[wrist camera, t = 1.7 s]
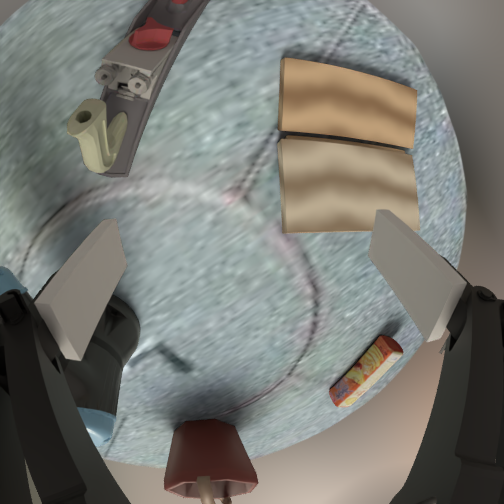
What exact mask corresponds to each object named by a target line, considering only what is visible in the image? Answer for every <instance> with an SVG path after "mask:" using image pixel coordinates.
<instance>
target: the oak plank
mask: <svg viewBox="0 0 504 504" xmlns="http://www.w3.org/2000/svg"><path fill="white" fill-rule="evenodd" d="M416 106H417V90H415V89H413V88H410V87H407V86H404V85H402V84H399V83H396V82H393V81H390V80H386V79H383V78H380V77H376V76H373V75H370V74H366V73H362V72H358V71H354V70H350V69H346V68H342V67H337V66H333V65H328V64H323V63H317V62H312V61H306V60H299V59H293V58H283V59H282V60H281V64H280V90H279V114H278V130H281V131H295V132H306V133H317V134H326V135H335V136H342V137H350V138H357V139H363V140H369V141H375V142H381V143H386V144H392V145H397V146H402V147H406V148H411V149H413V144H414V134H415V122H416Z"/></svg>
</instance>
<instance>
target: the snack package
mask: <svg viewBox="0 0 504 504" xmlns="http://www.w3.org/2000/svg"><path fill="white" fill-rule="evenodd" d="M402 355H403V349H402V348H401V346H400V345H399V344H398V343H397V342H396V341H395V340H394V339H393V338H390V337H388V336H384V335H381V336H379V337H378V339H377V340H376V341H375V343H374V344H373V345H372V346H371V347H370V348H369V349H368V351H367V352H366V353H365V354H364V355H363V356H362V357H361V359H360V360H359V361H358V362H357V363H356V364H355V365H354V366H353V367H352V368H351V370H350V371H349V372H348V373H347V374H346V375H345V376H344V377H343V378H342V379H341V380H340V381H339V382H338V383H337V384H336V385H335V386H333V387H332V388H331V389H330V391H329V394H330V397H331V399H332V401H333V403H334V404H335V405H336V406H337V407H349V406H351V405H352V404H353V403H354V402H355V401H356V400H357V399H358V398H359V397H360V396H361V395H363V394H364V393H365V392H366V391H367V390H368V389H369V388H370V387H371V386H372V385H373V384H374V383H375V382H376V381H377V380H378V379H379V378H380V377H381V376H382V375H383V374H384V373H385V372H386V371H387V370H388V369H389V368H390V367H391V366H392V365H393V364H394V363H395V362H396V361H397V360H398V359H399V358H400V357H401V356H402Z"/></svg>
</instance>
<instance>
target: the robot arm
mask: <svg viewBox="0 0 504 504" xmlns="http://www.w3.org/2000/svg"><path fill="white" fill-rule="evenodd" d="M368 257H369V258H370V259H371V261H372V262H373V263H374V265H375V266H376V267H377V269H378V270H379V272H380V273H381V274H382V276H383V277H384V278H385V280H386V281H387V283H388V284H389V286H390V287H391V288H392V290H393V291H394V293H395V294H396V296H397V297H398V299H399V300H400V302H401V303H402V305H403V306H404V308H405V309H406V311H407V312H408V314H409V315H410V317H411V318H412V320H413V321H414V323H415V324H416V326H417V328H418V329H419V331H420V332H421V334H422V335H423V337H424V339H425V340H426V342H429V341H433V340H437V339H440V338H441V336H442V334H443V333H444V331H445V329H446V327H447V329H448V330H449V331H450V334H449V337H448V338H447V340H446V342H445V343H444V345H443V347H442V349H441V350H440V353H441V354H442V352H443V350H445V354H444V360H443V365H442V371H441V375H440V380H439V385H438V389H437V393H436V397H435V401H434V404H433V408H432V412H431V416H430V418H429V422H428V425H427V428H426V431H425V434H424V437H423V440H422V443H421V446H420V448H419V451H418V454H417V456H416V459H415V461H414V464H413V466H412V469H411V471H410V474H409V476H408V478H407V480H406V482H405V484H404V486H403V487H402V489H401V490H400V491H399V492H398V493H397V494H396V495H395V496H394V498H393V499H392V501H391V502H390V503H389V504H504V300H500V299H497V298H496V296H495V295H494V294H493V292H491V291H490V290H489V289H487V288H485V287H482V286H474V287H473V286H472V285H470V283H469V282H468V281H467V280H466V279H465V278H464V277H463V276H462V275H461V274H460V273H459V272H458V271H456V269H455V268H454V267H453V266H451V264H450V263H449V262H448V261H447V260H446V259H445V258H444V257H443V256H441V255H439V254H438V253H437V252H436V251H435V250H434V249H433V248H432V247H431V246H430V245H429V244H427V243H426V242H425V241H424V240H423V239H422V238H421V237H420V236H419V235H418V234H417V233H415V232H414V231H413V230H412V229H411V228H410V227H409V226H408V225H406V224H405V223H404V222H403V221H402V220H401V219H399V218H398V217H397V216H396V215H395V214H394V213H392V212H391V211H390V210H385V209H377V210H376V216H375V222H374V227H373V233H372V238H371V243H370V248H369V253H368ZM126 267H127V262H126V258H125V254H124V250H123V246H122V242H121V238H120V234H119V229H118V225H117V220H116V219H106V220H103V221H102V222H101V223H100V224H99V225H98V226H97V227H96V228H95V229H94V230H93V231H92V232H91V233H90V235H89V236H88V237H87V238H86V239H85V240H84V241H83V242H82V244H81V245H80V246H79V247H78V248H77V249H76V250H75V252H74V253H73V254H72V255H71V256H70V257H69V259H68V260H67V261H66V262H65V263H64V265H63V266H62V267H61V268H60V269H59V270H58V271H57V272H55V273H54V274H53V275H52V276H51V277H50V278H49V279H48V281H47V282H46V284H44V286H43V287H42V290H40V291H39V292H38V294H37V295H36V296H35V298H34V299H33V298H32V297H31V296H30V295H29V293H28V292H27V291H28V289H27V288H26V287H23V285H22V284H21V283H20V282H19V281H18V279H17V278H16V277H15V276H14V274H13V273H12V272H11V271H10V270H9V269H8V268H6V267H3V266H0V504H33V503H32V499H31V494H30V489H29V484H28V478H27V473H26V465H25V460H26V463H27V465H28V468H29V471H30V474H31V477H32V480H33V482H34V484H35V486H36V489H37V492H38V494H39V497H40V499H41V502H42V504H131V503H130V502H129V500H128V499H127V497H126V496H125V494H124V493H123V491H122V490H121V489H120V487H119V485H118V484H117V482H116V481H115V479H114V478H113V476H112V475H111V473H110V471H109V470H108V468H107V466H106V464H105V463H104V461H103V459H102V457H101V456H100V454H99V452H98V450H97V448H96V447H98V446H102V445H104V444H106V443H108V442H109V441H110V439H111V437H112V433H113V428H114V423H115V422H116V413H117V405H118V397H119V390H120V384H121V377H122V371H123V367H124V366H125V364H126V363H127V362H128V360H129V359H130V357H131V356H132V354H133V353H134V352H135V350H136V348H137V346H138V342H139V337H140V325H139V322H138V319H137V317H136V315H135V314H134V312H133V311H132V310H131V308H130V307H129V306H128V305H127V304H126V303H125V302H123V301H122V300H121V299H119V298H118V297H116V296H114V295H112V294H113V292H114V290H115V288H116V286H117V284H118V282H119V280H120V278H121V277H122V275H123V273H124V271H125V269H126ZM495 458H496V461H495Z"/></svg>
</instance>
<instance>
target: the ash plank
mask: <svg viewBox="0 0 504 504" xmlns="http://www.w3.org/2000/svg"><path fill="white" fill-rule="evenodd" d="M277 147H278V161H279V177H280V194H281V213H282V234H283V233H317V232H362V231H373V227H374V222H375V216H376V210H377V209H385V210H390V211H391V212H392V213H394V214H395V215H396V216H397V217H398V218H399V219H401V220H402V221H403V222H404V223H405V224H406V225H408V226H409V227H410V228H411V229H412V230H413V231H417V230H420V223H419V209H418V197H417V188H416V180H415V172H414V165H413V159H412V155H408V154H405V151H404V150H399V149H393V148H388V147H382V146H376V145H370V144H364V143H357V142H350V141H342V140H334V139H325V138H315V137H304V136H290V135H287V136H286V137H285V139H281V140H280V141H279V142H278V144H277Z"/></svg>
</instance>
